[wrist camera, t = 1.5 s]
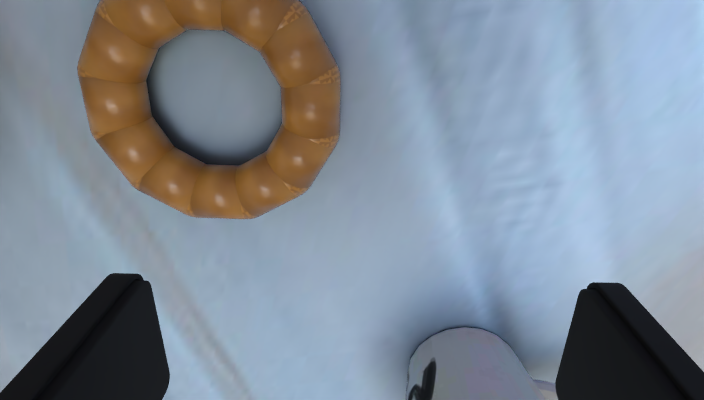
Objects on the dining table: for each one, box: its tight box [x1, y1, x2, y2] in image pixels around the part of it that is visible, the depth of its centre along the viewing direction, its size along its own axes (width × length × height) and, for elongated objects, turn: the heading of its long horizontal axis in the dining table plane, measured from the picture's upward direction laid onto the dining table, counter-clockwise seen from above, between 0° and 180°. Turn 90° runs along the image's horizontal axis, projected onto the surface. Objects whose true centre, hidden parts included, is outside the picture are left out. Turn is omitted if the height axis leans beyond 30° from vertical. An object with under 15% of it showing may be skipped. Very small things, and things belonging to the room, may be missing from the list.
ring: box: [77, 0, 340, 219], centre depth 23 cm, size 13×13×3 cm
